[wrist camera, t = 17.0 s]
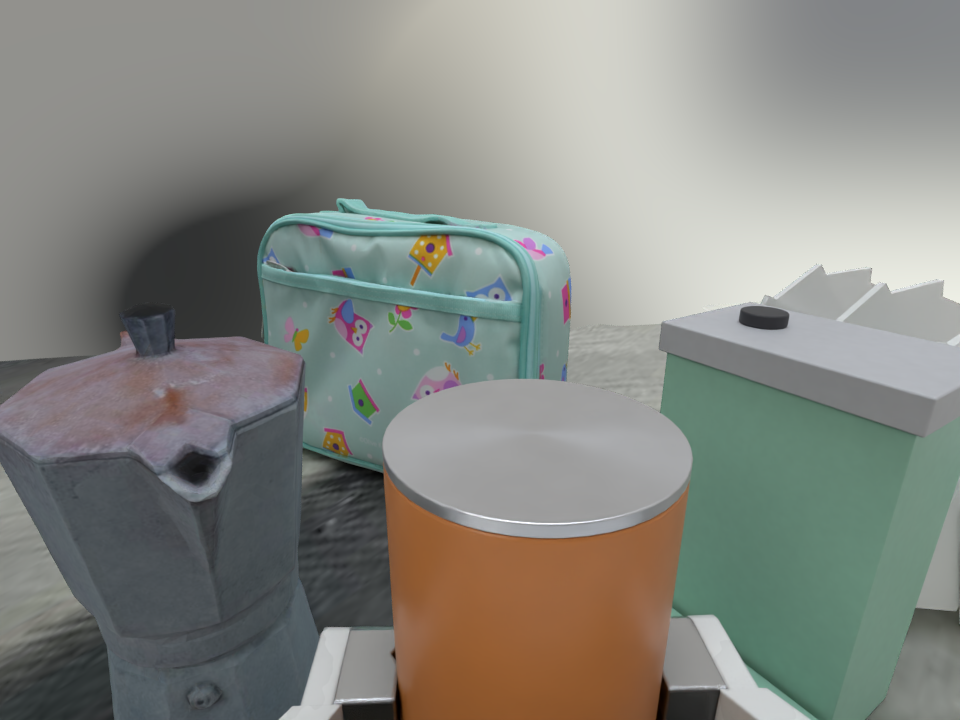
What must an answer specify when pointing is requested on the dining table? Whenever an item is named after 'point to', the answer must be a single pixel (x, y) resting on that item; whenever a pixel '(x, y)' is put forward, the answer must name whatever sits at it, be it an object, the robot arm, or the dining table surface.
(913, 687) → the dining table surface
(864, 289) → the spiral staircase
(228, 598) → the moka pot
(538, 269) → the lunch box
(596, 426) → the orange silver-capped cylinder
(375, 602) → the dining table surface
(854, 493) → the pet feeder tower
